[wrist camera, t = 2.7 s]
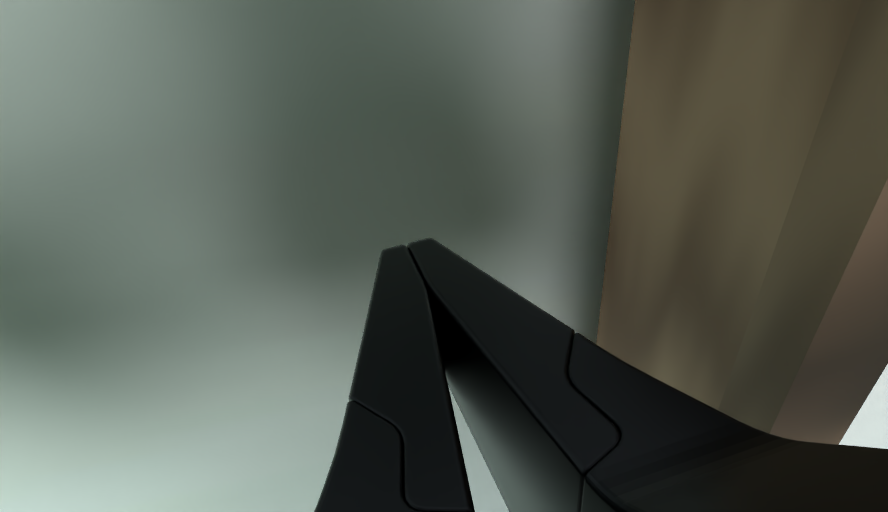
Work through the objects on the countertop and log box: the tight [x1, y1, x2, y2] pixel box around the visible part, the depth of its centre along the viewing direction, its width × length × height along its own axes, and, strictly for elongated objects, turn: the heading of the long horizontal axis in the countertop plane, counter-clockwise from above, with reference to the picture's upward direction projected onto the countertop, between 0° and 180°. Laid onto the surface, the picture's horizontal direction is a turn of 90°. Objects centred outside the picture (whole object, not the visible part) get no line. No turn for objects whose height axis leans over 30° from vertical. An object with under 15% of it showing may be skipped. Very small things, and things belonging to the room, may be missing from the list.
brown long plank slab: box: [596, 0, 888, 445], centre depth 11 cm, size 16×2×6 cm, turn 6°
